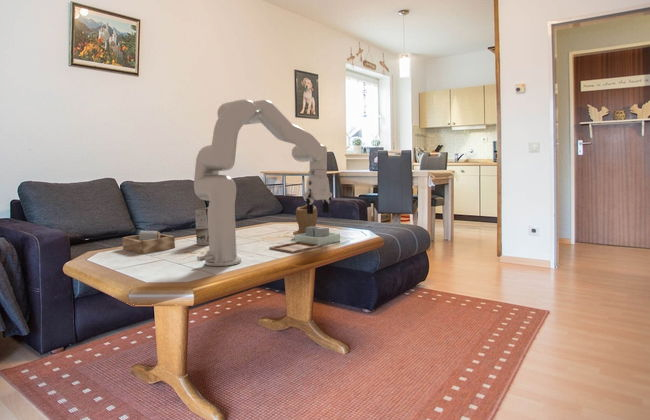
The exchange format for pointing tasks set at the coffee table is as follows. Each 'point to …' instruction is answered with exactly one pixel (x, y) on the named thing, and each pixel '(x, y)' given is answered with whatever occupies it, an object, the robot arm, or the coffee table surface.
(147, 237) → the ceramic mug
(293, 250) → the tray
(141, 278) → the coffee table surface
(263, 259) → the coffee table surface
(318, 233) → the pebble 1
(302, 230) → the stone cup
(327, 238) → the pale green square tray
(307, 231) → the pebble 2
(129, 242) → the wooden box
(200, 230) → the coffee box
